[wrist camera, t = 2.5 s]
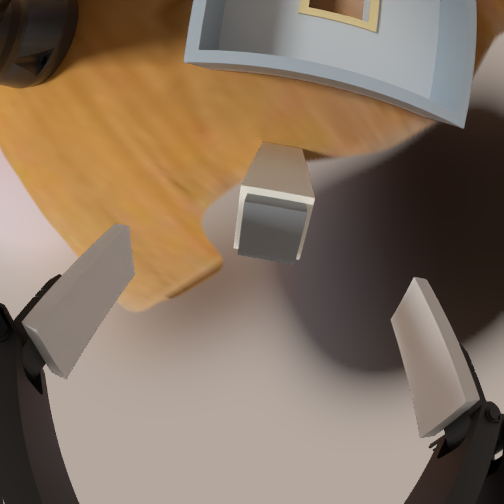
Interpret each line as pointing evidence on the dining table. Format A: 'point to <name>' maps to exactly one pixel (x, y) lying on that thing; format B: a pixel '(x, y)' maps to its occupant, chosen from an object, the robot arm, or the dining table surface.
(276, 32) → the walled box
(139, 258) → the dining table surface
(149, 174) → the dining table surface
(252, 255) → the connector
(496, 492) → the robot arm
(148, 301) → the dining table surface
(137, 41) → the dining table surface
